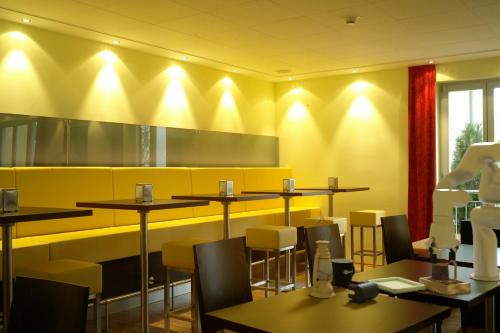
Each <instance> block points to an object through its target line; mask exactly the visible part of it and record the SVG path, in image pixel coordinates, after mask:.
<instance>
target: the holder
mask: <svg viewBox="0 0 500 333" xmlns="http://www.w3.org/2000/svg"><path fill="white" fill-rule="evenodd" d="M431 278H432V276H426V277H419V278H418V283H421V284H424V285H427V290H428V289H429V291H432V292H435V291H436V292H435V293H438V292H439V294H442V295H445V294H446V296H449V295H448V294H450V295H456V293H458V294H464V293H471V282H468V281H466V280H461V279H457V280H456V282H454V283H449V285H444V284H440V283H437V282H433V281H431ZM449 279H450V281H454V277H449Z"/></svg>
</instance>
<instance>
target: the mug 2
mask: <svg viewBox="0 0 500 333" xmlns="http://www.w3.org/2000/svg"><path fill="white" fill-rule="evenodd" d="M451 263H452V264H453V266H454V267H453V279H454V281H450V279H449V278H450V273H449V272H450V271H449V265H451ZM457 276H458V264H457V261H456V262H455V261H454V260H451V261H449V259H447V258H437V264H432V263H431V277H432V278H431V281H433V282H437V283H440V284H444V285H449V283H454V282H456V280H458V279H457V278H458V277H457Z"/></svg>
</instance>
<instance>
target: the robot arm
mask: <svg viewBox="0 0 500 333" xmlns="http://www.w3.org/2000/svg"><path fill="white" fill-rule="evenodd" d="M497 163H500V142H478V143H477V142H476V143H472V144H470V145H469V146H468V147H467V148H466V149H465V152H464V153H463V155H462V158H461V160H460V161H459V164H458V165H457V167H456V168H454V169H453V170H451V171H450V172H448V173H447V174H446V175H444V176H442V178H440V180H439V181H438V183H437V184H436V187H435V188H434V190H433V193H432V207H433V208H432V223H431V224H430V228H429V235H428V236H429V238H428V240H427V241H425V242H424V246H425V247H426V251H428V253H429V263H430V264H431V265H432V264H437V259H438V255H437V252H438V250H444V249H448V251H449V252H448V262H449V261H451V260H454V261H455V262H456V263H457V260H456V259H457V255H456V254H457V253H458V250H459V249H460V245H461V243H462V242H461V241H460V240H459V239H457V237H456V228H455V224H454V220H455V218H454V208H464V207H466V206H468V204H469V203H470V195H469V193H468V191H467V190H465V189H461V188H455V187H457V186H459V185H463V184H466V183H468V182H471V181H473V180H475V179H476V178H477V177H478V175H479V173H480V171H481V175H480V181H479V186H478V187H479V188H478V194H477V198H478V201H479V202H480V203H482V204H485V205H479V206H475V207H474V208H472V209H471V211H470V213H469V214H470V216H469V218H470V224H471V228H472V242H473V243H472V246H473V249H472V250H473V251H472V253H473V256H472V257H473V259H472V261H473V273H470V274H469V277H470V279H473V280H477V281H483V282H484V281H486V282H497V281H500V268H499V267H498V238H497V236H496V233H495V232H494V230H493V229H495V230H500V166H499V165H498V164H497ZM488 205H490V206H488ZM491 205H492V206H491ZM493 205H497V206H493ZM498 205H499V206H498Z"/></svg>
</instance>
